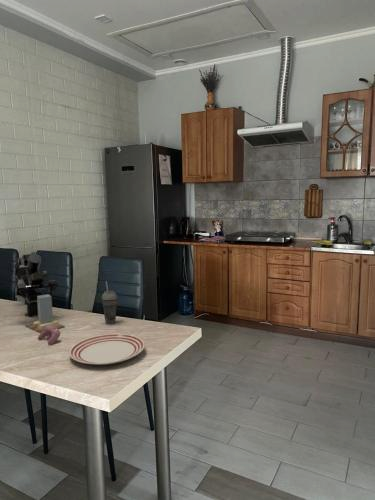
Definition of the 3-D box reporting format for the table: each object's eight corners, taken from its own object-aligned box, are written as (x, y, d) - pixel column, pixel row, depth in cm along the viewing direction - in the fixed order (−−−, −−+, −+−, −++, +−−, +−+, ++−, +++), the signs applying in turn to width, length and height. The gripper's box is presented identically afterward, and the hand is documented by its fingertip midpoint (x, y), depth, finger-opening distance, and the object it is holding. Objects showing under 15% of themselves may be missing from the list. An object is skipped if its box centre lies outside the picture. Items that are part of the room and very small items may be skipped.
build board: (25, 326, 173) (25, 321, 172) (47, 320, 181) (47, 315, 181) (42, 333, 163) (41, 327, 163) (64, 327, 171) (64, 321, 171)
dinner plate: (112, 377, 122) (111, 367, 121) (53, 361, 135) (52, 352, 134) (159, 348, 145) (158, 340, 145) (104, 337, 159) (104, 329, 158)
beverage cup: (116, 325, 173) (114, 282, 171) (100, 325, 173) (99, 282, 171) (119, 320, 180) (118, 279, 178) (104, 320, 180) (102, 279, 178)
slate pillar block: (38, 321, 172) (37, 295, 170) (49, 319, 174) (48, 294, 173) (41, 324, 168) (39, 298, 166) (52, 322, 170) (51, 296, 169)
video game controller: (57, 346, 152) (64, 330, 153) (47, 344, 149) (54, 327, 150) (46, 341, 159) (52, 325, 160) (36, 339, 155) (42, 322, 157)
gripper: (14, 267, 173) (21, 295, 165) (56, 263, 183) (64, 289, 176) (12, 281, 180) (18, 309, 173) (52, 276, 191) (59, 302, 183)
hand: (40, 302), depth 176 cm, fingers open, 9 cm apart
